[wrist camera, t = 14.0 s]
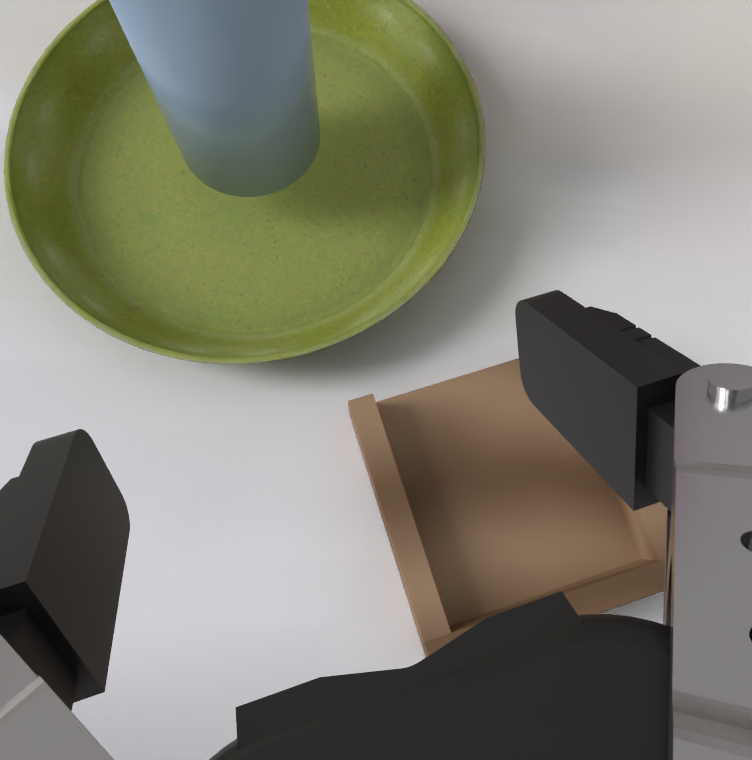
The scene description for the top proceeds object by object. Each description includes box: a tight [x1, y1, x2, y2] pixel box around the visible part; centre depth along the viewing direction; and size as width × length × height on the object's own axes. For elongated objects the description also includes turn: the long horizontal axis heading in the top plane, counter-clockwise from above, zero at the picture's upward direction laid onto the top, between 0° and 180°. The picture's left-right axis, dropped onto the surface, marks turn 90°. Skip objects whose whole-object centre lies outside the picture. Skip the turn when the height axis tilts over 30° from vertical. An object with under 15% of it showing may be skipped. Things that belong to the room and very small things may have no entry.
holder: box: [348, 359, 667, 657], centre depth 24 cm, size 10×10×2 cm
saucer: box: [4, 0, 485, 364], centre depth 28 cm, size 21×21×3 cm
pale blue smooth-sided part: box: [109, 0, 320, 197], centre depth 21 cm, size 8×6×10 cm
